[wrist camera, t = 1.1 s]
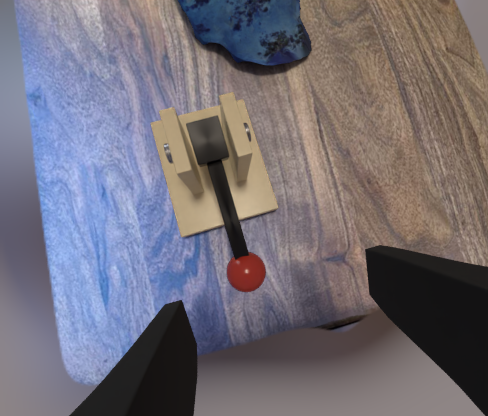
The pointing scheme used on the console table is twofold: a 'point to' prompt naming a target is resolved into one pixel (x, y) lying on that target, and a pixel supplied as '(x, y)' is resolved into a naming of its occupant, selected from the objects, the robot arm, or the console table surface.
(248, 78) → the console table surface
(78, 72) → the console table surface
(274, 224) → the console table surface
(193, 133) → the lever
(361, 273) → the console table surface
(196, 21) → the rock
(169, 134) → the bracket
